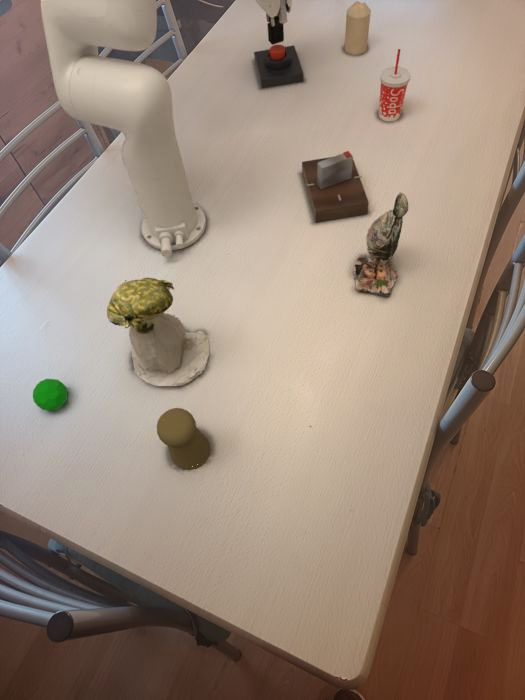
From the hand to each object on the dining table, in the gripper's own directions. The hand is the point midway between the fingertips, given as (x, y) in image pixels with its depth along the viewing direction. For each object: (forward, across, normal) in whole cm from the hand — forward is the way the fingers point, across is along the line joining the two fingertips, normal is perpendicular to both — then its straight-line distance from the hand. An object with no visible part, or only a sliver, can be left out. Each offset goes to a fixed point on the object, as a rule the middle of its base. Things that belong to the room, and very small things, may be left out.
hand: (276, 41), depth 115 cm
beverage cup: (+8, +27, +15) cm, 32 cm away
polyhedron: (+9, +64, -68) cm, 94 cm away
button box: (+7, 0, 0) cm, 7 cm away
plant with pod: (+8, +64, -10) cm, 66 cm away
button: (+4, 0, 0) cm, 4 cm away
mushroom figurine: (+8, +64, -48) cm, 81 cm away
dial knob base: (+8, +43, -7) cm, 44 cm away
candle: (+7, +1, +21) cm, 22 cm away
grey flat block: (+5, +43, -7) cm, 44 cm away
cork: (+9, +81, -50) cm, 96 cm away
